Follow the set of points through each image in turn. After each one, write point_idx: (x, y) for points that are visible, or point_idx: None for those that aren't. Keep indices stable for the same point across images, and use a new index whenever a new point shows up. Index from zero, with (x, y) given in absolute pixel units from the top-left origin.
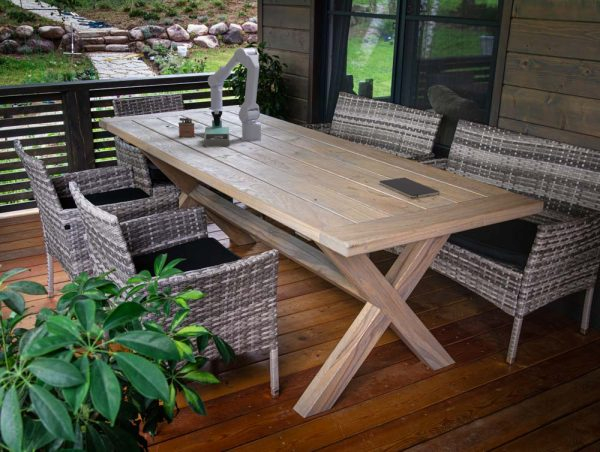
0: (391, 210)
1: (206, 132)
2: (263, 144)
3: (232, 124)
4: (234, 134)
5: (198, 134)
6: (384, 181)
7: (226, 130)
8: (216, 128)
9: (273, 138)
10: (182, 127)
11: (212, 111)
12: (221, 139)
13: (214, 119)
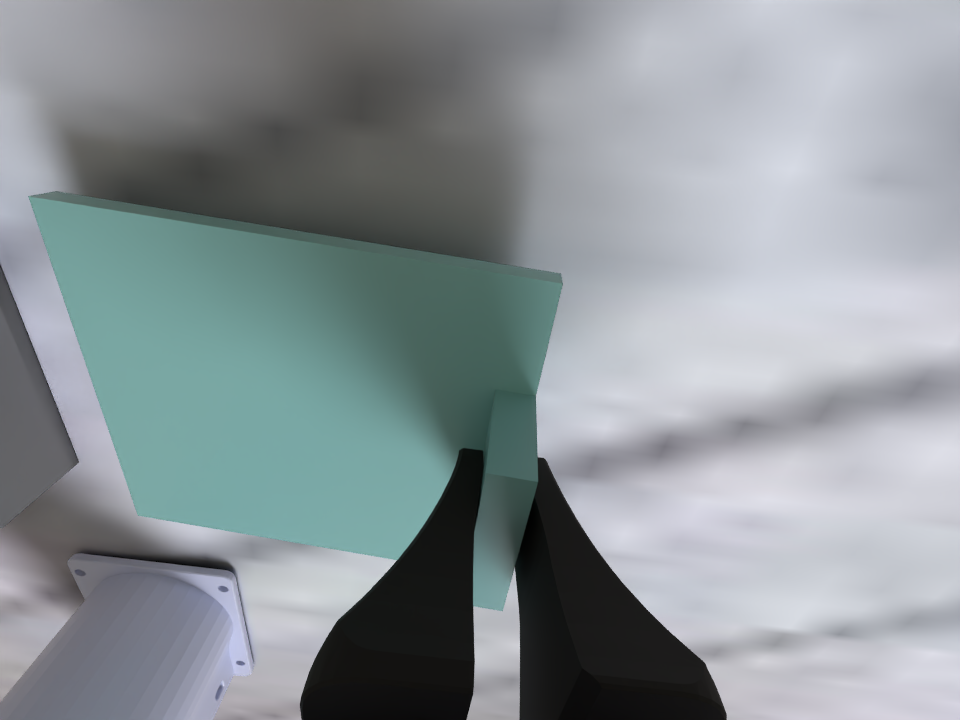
0: None
1: (157, 247)
2: (12, 646)
3: (948, 598)
4: None
5: (466, 107)
6: None
7: (314, 524)
8: (428, 437)
9: (247, 715)
10: None
11: (682, 714)
12: None
13: (417, 540)
